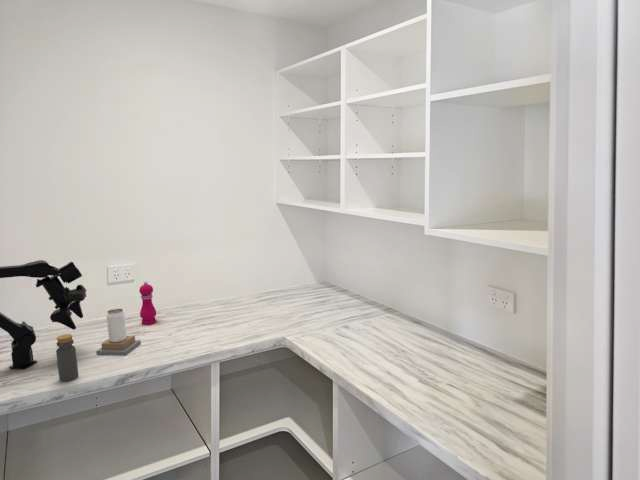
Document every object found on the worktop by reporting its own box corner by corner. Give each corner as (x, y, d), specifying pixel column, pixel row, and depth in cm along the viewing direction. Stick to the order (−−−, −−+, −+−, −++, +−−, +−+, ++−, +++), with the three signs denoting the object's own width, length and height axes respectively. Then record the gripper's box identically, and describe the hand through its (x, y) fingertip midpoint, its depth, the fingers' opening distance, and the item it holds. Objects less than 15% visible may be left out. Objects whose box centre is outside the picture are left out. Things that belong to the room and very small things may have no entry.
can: (113, 344, 180) (110, 314, 178) (106, 340, 184) (103, 311, 182) (129, 339, 185) (127, 310, 183) (122, 335, 189) (119, 307, 187)
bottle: (81, 373, 163) (77, 333, 161) (73, 381, 158) (68, 339, 155) (64, 374, 163) (60, 333, 161) (56, 381, 157) (51, 339, 155)
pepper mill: (137, 324, 215) (133, 282, 212) (147, 319, 222) (144, 279, 219) (150, 325, 213) (147, 283, 210) (160, 320, 220) (157, 279, 217)
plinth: (125, 355, 179) (125, 345, 178) (96, 354, 180) (95, 344, 180) (140, 343, 191) (139, 334, 190) (113, 343, 192) (112, 334, 191)
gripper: (68, 292, 167) (91, 326, 172) (83, 272, 184) (103, 304, 190) (39, 304, 166) (63, 338, 172) (57, 283, 184) (78, 315, 189)
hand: (78, 323), depth 181 cm, fingers open, 9 cm apart
